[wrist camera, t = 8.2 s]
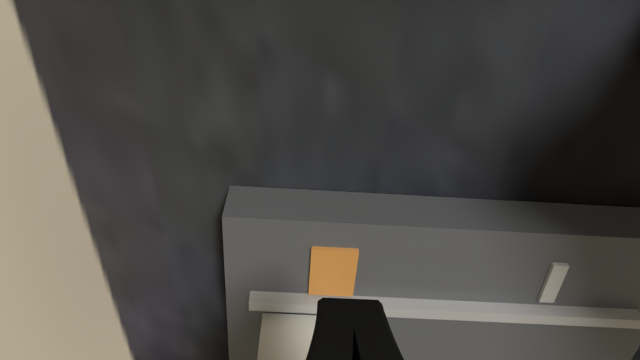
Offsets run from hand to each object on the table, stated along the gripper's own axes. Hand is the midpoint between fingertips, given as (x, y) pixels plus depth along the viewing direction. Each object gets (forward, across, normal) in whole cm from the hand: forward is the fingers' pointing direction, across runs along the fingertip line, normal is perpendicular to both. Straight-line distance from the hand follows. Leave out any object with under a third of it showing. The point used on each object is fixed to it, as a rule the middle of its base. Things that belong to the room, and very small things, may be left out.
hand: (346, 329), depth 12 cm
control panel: (+9, -5, +10) cm, 15 cm away
